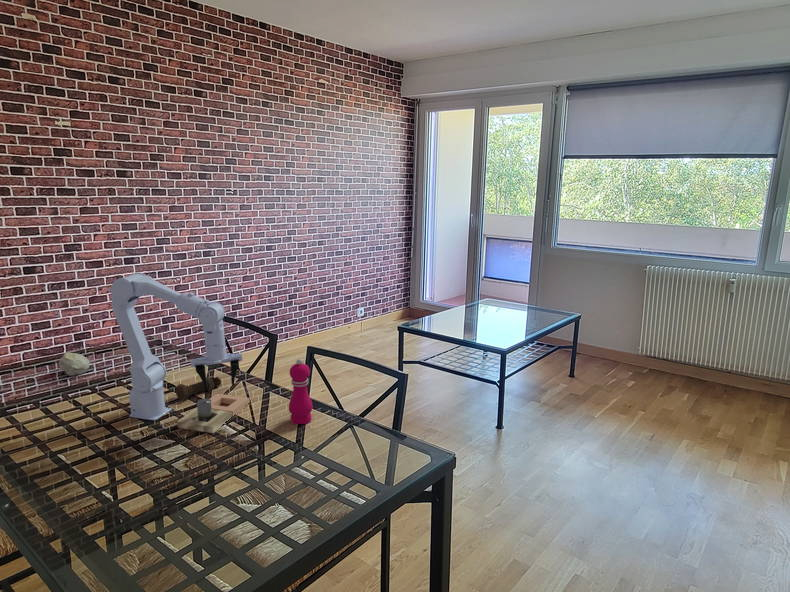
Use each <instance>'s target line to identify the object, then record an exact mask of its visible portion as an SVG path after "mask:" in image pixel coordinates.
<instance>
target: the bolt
mask: <svg viewBox="0 0 790 592" xmlns="http://www.w3.org/2000/svg"><path fill="white" fill-rule="evenodd" d="M206 379H207V385H208V389H205V386H204V384H203V381H202V380H201V381H199V382H196V383H192V384H189V385H185V384H183V383H179V384H177V386H176V388H175V394H176V397H177V398H178V399H179V401H182V402H185V401H187V400H188V399H189V397H190V396H192V395H194V394H197V393H200V392H204V391H205V392H212V391H213V390H214V388H216V387H219V386H221V385H222V379H221V378H220V377H218V376H216V377H213V378H211V377H207V376H206Z"/></svg>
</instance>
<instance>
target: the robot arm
mask: <svg viewBox="0 0 790 592" xmlns="http://www.w3.org/2000/svg"><path fill="white" fill-rule="evenodd" d="M109 291H110V294H111V309H112V311H113V314H114V316H115V319H116V322H117V324H118V326H119V329H120V332H121V334H122V337H123V339H124V343H125V344H126V347H127V350H128V352H129V354H130V357H131V360H132V364H131V367H130V369H129V372H130V376H131V379H130V380H131V381H130V382H131V385H132V388H131V390H130V392H129V405H130V407H129V408H130V414H129V416H128V417H130V418H135V419H143V420H148V421H156V420H158V419H160V418H161V417H162V416H165V415H166V414H168V413H169V412H171V411H172V410H173V409H172V407H166V403H165V402H166V401H165V392H164V391H165V390H164V379H165V378H166V376H167V369H166V367H165V365H163V363H162V362H161V361H160V359H159V357H158V356H157V355H154V354H153V353H152V350H151V348H150V345H149V343H148V340H147V337H146V336H145V333H144V330H143V328H142V325H141V323H140V320H139V317H138V315H137V312H136V310H135V305H136V303H137V302H138V300H139V299H140V297H143V296H149V295H151V296H153V297H156V298H158V299H161V300H162V301H163V300H164V301H166V302H169V303H170V304H171V303H172V304H174V305H175V306H176V309H177V310H178V311H180V312H181V313H185V314H187V315H189V316H191V317H193V318H196V319H198V321H199V323H200V324H201V325H202V329H203V337H204V347H205V356H201V357H198V358H192V359H190V365H191V368H195V372H196V374H198V376H199V378H200V379H201V382H202V381H203V384H204V386H205V389H208V385H207V379H206V378H207V374H206V366H210V365H218V364H226V363H230V374H231V378H230V379H231V386H234V385H235V381H236V380H235V379H236V374H237V371H238V368H239V366H240V362H243V354H242V352H240V353H227V346H226V345H227V344H226V338H225V337H226V336H225V327H224V320H223V319H224V317H225V315H226V309H225V306H223V304H221V303H220V302H219V301H211V302H210V300H209V299H203V298H202V297H199V296H197V295H195V294H196V293H195V292H192V291H190V292H188V291H186V292H183V293H180V292H178V291H176V290H174V289H173V288H170V287H169V286H167V285H164V284H163V283H161V282H160V281H157V280H156V279H154V278H153V277H152V276H150V275H146V274H144V273H142V272H134V273H133V274H130V275H127V276H124V277H121V278H120V277H119V278H116V279H115V280H114V281H113V282H112V284H111V286H110V287H109Z"/></svg>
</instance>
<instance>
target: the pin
mask: <svg viewBox="0 0 790 592" xmlns="http://www.w3.org/2000/svg"><path fill="white" fill-rule="evenodd" d="M196 408H197V412H198V421H204V422H208V421H210V420H211V419H212V408H211V400H210V398H201V399H198V400H197V401H196Z"/></svg>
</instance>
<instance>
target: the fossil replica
mask: <svg viewBox="0 0 790 592" xmlns="http://www.w3.org/2000/svg"><path fill="white" fill-rule="evenodd" d="M90 365H91V362H90V359H89V358H87V357H85V356H84V355H83V354H80V353H77V352H75V353H74V352H65V353H64V354H63V356H62V357H60V359H59V362H58V366H59V370H61V371H62V372H65V374H66V375H68V376H69V377H72V376H77V375H82V374H84V373H86V371H88V370H89V368H90Z"/></svg>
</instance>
